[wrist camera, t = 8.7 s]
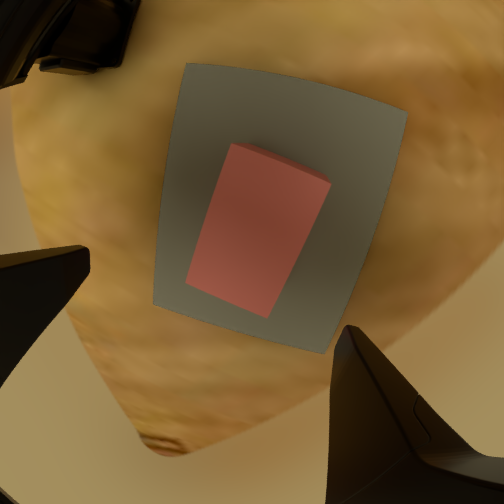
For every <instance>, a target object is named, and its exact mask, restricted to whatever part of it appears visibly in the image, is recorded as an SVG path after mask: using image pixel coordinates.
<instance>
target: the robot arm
mask: <svg viewBox="0 0 504 504" xmlns="http://www.w3.org/2000/svg"><path fill="white" fill-rule="evenodd" d="M132 1H133V0H0V89H2V88H5V87H9V86H13V85H16V84H20V83H23V82H24V81H25V80H26V78H27V76H28V75H27V74H28V72H29V71H30V69H31V67H32V65H33V64H34V63H37V64H40V66H39V69H40V71H42V72H52V73H60V74H68V75H82V74H94V73H95V72H96V71H97V69H105V68H117V67H118V66H119V65H120V64H121V62H122V58H123V54H124V50H125V47H126V43H127V40H128V36H129V33H130V30H131V26H132V23H133V20H134V17H135V14H136V11H137V8H138V5H139V2H140V0H134V1H133V2H132ZM115 60H116V62H115V63H114V61H115ZM89 273H90V251H89V249H88V248H87V247H85V246H82V245H73V246H65V247H57V248H49V249H41V250H33V251H26V252H18V253H12V254H4V255H0V388H1V386H2V385H3V382H5V380H6V379H7V378H8V376H9V375H10V373H11V372H12V371H13V369H14V368H15V367H16V365H17V364H18V363H19V361H20V360H21V359H22V357H23V356H24V355H25V354H26V352H27V351H28V350H29V348H30V347H31V346H32V344H33V343H34V342H35V341H36V340H37V338H38V337H39V336H40V335H41V333H42V332H43V331H44V330H45V329H46V327H47V326H48V325H49V324H50V323H51V322H52V320H53V319H54V318H55V317H56V316H57V314H58V313H59V312H60V311H61V310H62V309H63V308H64V306H65V305H66V304H67V303H68V302H69V300H70V299H71V298H72V296H73V295H74V294H75V292H76V291H77V289H78V288H79V287H80V285H81V284H82V283H83V281H84V280H85V279H86V278H87V276H88V275H89ZM329 418H330V419H329V453H328V473H327V489H326V500H325V501H326V502H325V504H504V458H500V457H491V456H486V455H483V454H481V453H479V452H477V451H476V450H474V449H473V448H472V447H471V446H470V445H469V444H468V443H466V441H465V440H464V439H463V438H462V437H461V436H459V435H458V434H457V433H456V432H455V431H454V430H453V429H452V428H451V427H450V426H449V425H448V424H447V423H446V422H445V421H444V420H443V419H442V418H441V417H440V416H439V415H438V414H437V413H436V412H435V411H434V410H433V409H432V407H431V406H430V405H429V404H428V403H427V402H426V401H425V400H424V399H423V397H422V396H421V395H418V392H417V391H416V390H415V388H414V387H413V386H412V385H411V384H410V383H409V382H408V381H407V380H406V378H405V377H404V376H403V375H402V374H401V373H400V372H399V371H398V370H397V369H396V367H395V366H394V365H393V364H392V363H391V362H390V361H389V360H388V359H387V358H386V357H385V355H384V354H383V353H382V352H381V351H380V350H379V349H378V348H377V347H376V346H375V344H374V343H373V342H372V341H371V340H370V339H369V338H368V337H367V336H366V335H365V334H364V333H363V331H362V330H361V329H360V328H359V327H356V326H352V325H346V326H345V327H344V329H343V331H342V333H341V335H340V337H339V339H338V341H337V344H336V346H335V350H334V358H333V367H332V376H331V384H330V417H329ZM0 504H19V503H18V502H16V501H15V500H14V499H13V498H12V497H11V496H10V495H8V494H7V493H6V492H5V491H4V490H3V489H2V488H1V487H0Z"/></svg>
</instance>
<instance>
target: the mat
mask: <svg viewBox="0 0 504 504" xmlns="http://www.w3.org/2000/svg"><path fill="white" fill-rule="evenodd" d="M407 115H408V112H406V111H403V110H401V109H398V108H396V107H393V106H390V105H388V104H385V103H382V102H380V101H377V100H374V99H371V98H368V97H365V96H362V95H359V94H356V93H352V92H349V91H346V90H342V89H339V88H335V87H332V86H328V85H324V84H321V83H317V82H313V81H308V80H304V79H300V78H295V77H291V76H286V75H281V74H275V73H270V72H264V71H258V70H251V69H244V68H237V67H229V66H219V65H209V64H195V63H186V66H185V70H184V74H183V79H182V83H181V87H180V92H179V96H178V101H177V106H176V111H175V116H174V121H173V126H172V132H171V137H170V143H169V149H168V155H167V162H166V168H165V175H164V182H163V190H162V198H161V206H160V215H159V224H158V234H157V246H156V258H155V273H154V292H153V304H154V305H156V306H159V307H162V308H165V309H168V310H171V311H174V312H176V313H179V314H182V315H185V316H188V317H191V318H194V319H197V320H201V321H204V322H207V323H210V324H213V325H216V326H220V327H223V328H226V329H230V330H233V331H236V332H240V333H243V334H247V335H250V336H254V337H257V338H261V339H265V340H268V341H272V342H276V343H280V344H284V345H288V346H292V347H296V348H300V349H304V350H308V351H312V352H316V353H321V354H325V352H326V350H327V348H328V345H329V343H330V341H331V339H332V337H333V335H334V333H335V330H336V328H337V326H338V324H339V322H340V319H341V317H342V315H343V313H344V310H345V308H346V306H347V303H348V301H349V299H350V296H351V294H352V291H353V289H354V286H355V284H356V281H357V279H358V276H359V274H360V271H361V269H362V266H363V263H364V261H365V258H366V255H367V253H368V250H369V247H370V245H371V242H372V239H373V236H374V233H375V230H376V227H377V224H378V221H379V218H380V215H381V212H382V209H383V206H384V203H385V200H386V196H387V193H388V190H389V186H390V183H391V179H392V176H393V172H394V169H395V165H396V161H397V157H398V154H399V150H400V146H401V142H402V137H403V133H404V129H405V124H406V120H407ZM231 143H249V144H252V145H255V146H257V147H260V148H262V149H265V150H268V151H270V152H273V153H275V154H278V155H280V156H283V157H285V158H288V159H290V160H292V161H295V162H297V163H300V164H302V165H304V166H307V167H309V168H311V169H313V170H316V171H318V172H320V173H322V174H325V175H326V176H327V177H328V179H329V181H330V182H331V187H330V189H329V191H328V193H327V196H326V198H325V200H324V202H323V204H322V207H321V209H320V211H319V213H318V215H317V218H316V220H315V222H314V224H313V226H312V228H311V230H310V233H309V235H308V237H307V239H306V241H305V243H304V245H303V247H302V250H301V252H300V254H299V256H298V258H297V260H296V262H295V264H294V266H293V268H292V270H291V272H290V274H289V276H288V278H287V280H286V282H285V284H284V286H283V288H282V290H281V292H280V294H279V296H278V298H277V300H276V302H275V304H274V306H273V308H272V310H271V312H270V314H269V316H268V318H265V317H262V316H260V315H257V314H255V313H253V312H250V311H248V310H245V309H243V308H241V307H238V306H236V305H234V304H231V303H229V302H227V301H225V300H222V299H220V298H218V297H215V296H213V295H211V294H209V293H206V292H204V291H202V290H200V289H198V288H195V287H193V286H191V285H189V284H187V283H185V281H186V278H187V275H188V271H189V268H190V265H191V261H192V258H193V255H194V252H195V248H196V245H197V242H198V239H199V236H200V232H201V229H202V226H203V223H204V220H205V217H206V214H207V211H208V208H209V205H210V202H211V199H212V196H213V193H214V190H215V187H216V184H217V182H218V179H219V176H220V173H221V170H222V167H223V165H224V162H225V159H226V156H227V153H228V151H229V148H230V145H231Z"/></svg>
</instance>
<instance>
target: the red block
mask: <svg viewBox="0 0 504 504" xmlns="http://www.w3.org/2000/svg"><path fill="white" fill-rule="evenodd" d="M330 187H331V182H330V181H329V179H328V177H327V176H326V175H325V174H322V173H320V172H318V171H316V170H313V169H311V168H309V167H307V166H304V165H302V164H300V163H297V162H295V161H292V160H290V159H288V158H285V157H283V156H280V155H278V154H275V153H273V152H270V151H268V150H265V149H262V148H260V147H257V146H255V145H252V144H249V143H231V145H230V148H229V151H228V153H227V156H226V159H225V162H224V165H223V167H222V170H221V173H220V176H219V179H218V182H217V184H216V187H215V190H214V193H213V196H212V199H211V202H210V205H209V208H208V211H207V214H206V217H205V220H204V223H203V226H202V229H201V232H200V236H199V239H198V242H197V245H196V248H195V252H194V255H193V258H192V261H191V265H190V268H189V271H188V275H187V278H186V281H185V283H187V284H189V285H191V286H193V287H195V288H198V289H200V290H202V291H204V292H206V293H209V294H211V295H213V296H215V297H218V298H220V299H222V300H225V301H227V302H229V303H231V304H234V305H236V306H238V307H241V308H243V309H245V310H248V311H250V312H253V313H255V314H257V315H260V316H262V317H265V318H268V316H269V314H270V312H271V310H272V308H273V306H274V304H275V302H276V300H277V298H278V296H279V294H280V292H281V290H282V288H283V286H284V284H285V282H286V280H287V278H288V276H289V274H290V272H291V270H292V268H293V266H294V264H295V262H296V260H297V258H298V256H299V254H300V252H301V250H302V247H303V245H304V243H305V241H306V239H307V237H308V235H309V233H310V230H311V228H312V226H313V224H314V222H315V220H316V218H317V215H318V213H319V211H320V209H321V207H322V204H323V202H324V200H325V198H326V196H327V193H328V191H329V189H330Z"/></svg>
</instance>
